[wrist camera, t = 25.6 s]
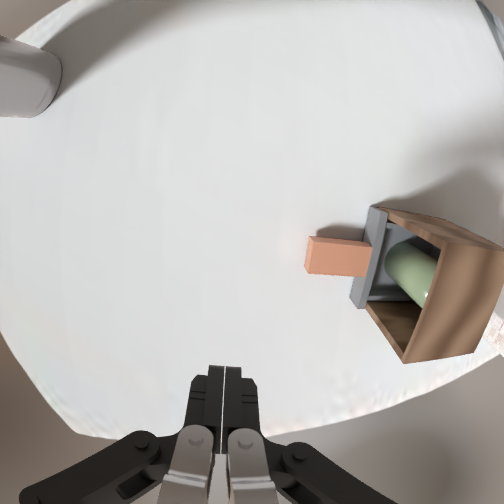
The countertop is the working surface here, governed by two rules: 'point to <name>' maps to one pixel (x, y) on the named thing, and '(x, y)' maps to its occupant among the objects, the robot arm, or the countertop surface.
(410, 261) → the jar
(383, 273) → the tray
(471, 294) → the cabinet
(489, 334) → the coffeecake box
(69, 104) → the countertop surface
